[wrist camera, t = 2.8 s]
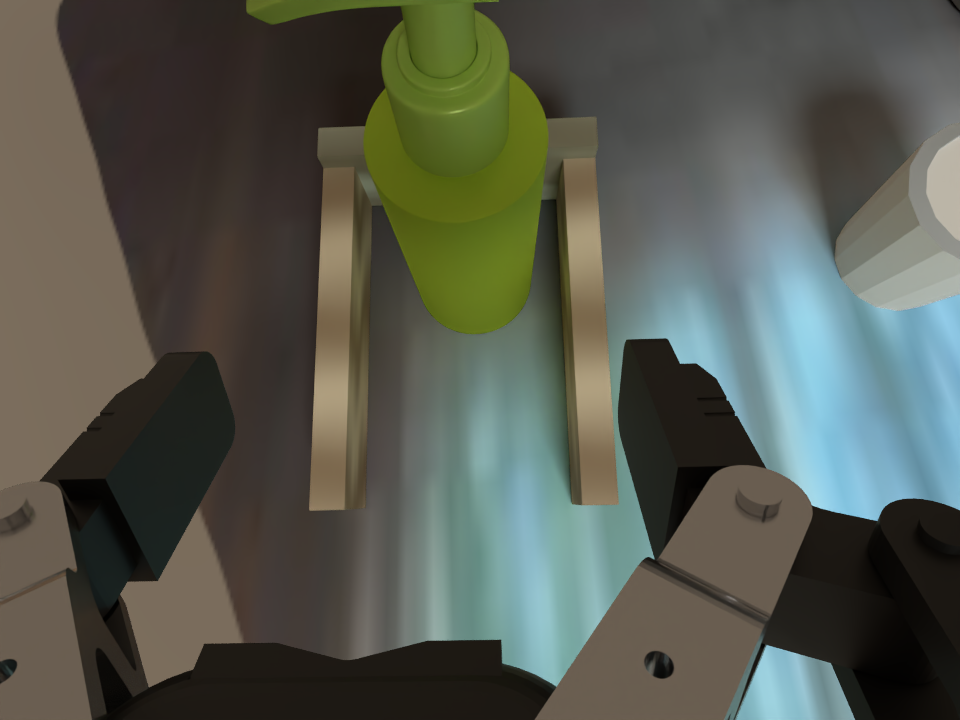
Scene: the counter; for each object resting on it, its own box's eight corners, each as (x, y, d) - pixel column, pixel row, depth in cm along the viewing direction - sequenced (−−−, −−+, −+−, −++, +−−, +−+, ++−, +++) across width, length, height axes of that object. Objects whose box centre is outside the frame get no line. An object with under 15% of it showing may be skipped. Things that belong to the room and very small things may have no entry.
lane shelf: (345, 181, 33) (318, 128, 29) (582, 173, 33) (596, 116, 28) (334, 508, 30) (301, 510, 25) (603, 503, 29) (623, 504, 24)
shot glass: (973, 224, 32) (1103, 148, 25) (941, 342, 30) (1069, 297, 23) (842, 180, 32) (932, 95, 26) (805, 293, 31) (890, 236, 24)
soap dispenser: (397, 234, 33) (239, -156, 13) (525, 224, 32) (558, -186, 13) (401, 340, 31) (232, 80, 12) (535, 330, 31) (587, 51, 12)
